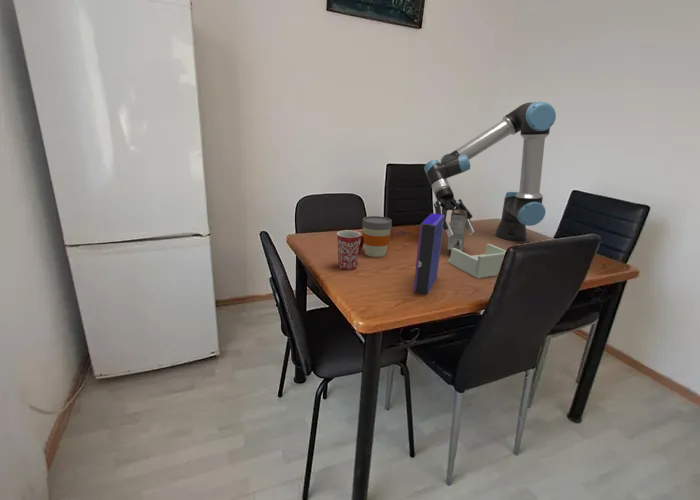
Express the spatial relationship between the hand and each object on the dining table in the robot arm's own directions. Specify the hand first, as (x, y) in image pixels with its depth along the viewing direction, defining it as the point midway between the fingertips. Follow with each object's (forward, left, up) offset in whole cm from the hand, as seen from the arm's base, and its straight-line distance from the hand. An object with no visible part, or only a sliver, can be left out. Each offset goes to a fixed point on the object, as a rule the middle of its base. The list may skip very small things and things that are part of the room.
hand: (461, 234), depth 169 cm
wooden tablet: (+14, -35, -10) cm, 39 cm away
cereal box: (+32, +21, -10) cm, 39 cm away
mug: (+50, -4, -10) cm, 51 cm away
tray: (0, +14, -10) cm, 17 cm away
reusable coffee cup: (+34, -14, -10) cm, 38 cm away
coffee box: (0, -3, -7) cm, 7 cm away
